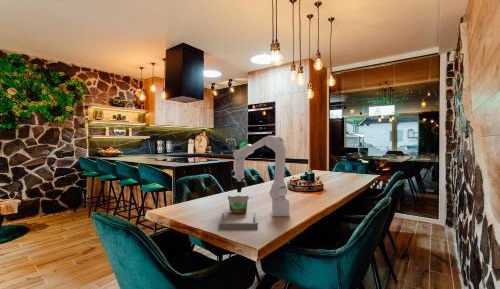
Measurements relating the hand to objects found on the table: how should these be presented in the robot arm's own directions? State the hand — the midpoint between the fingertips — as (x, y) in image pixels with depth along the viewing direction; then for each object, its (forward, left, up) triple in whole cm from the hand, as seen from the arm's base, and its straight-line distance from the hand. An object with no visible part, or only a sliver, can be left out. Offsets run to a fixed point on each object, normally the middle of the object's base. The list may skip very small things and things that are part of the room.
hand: (239, 191), depth 158 cm
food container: (0, +15, -10) cm, 18 cm away
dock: (0, +30, -10) cm, 31 cm away
